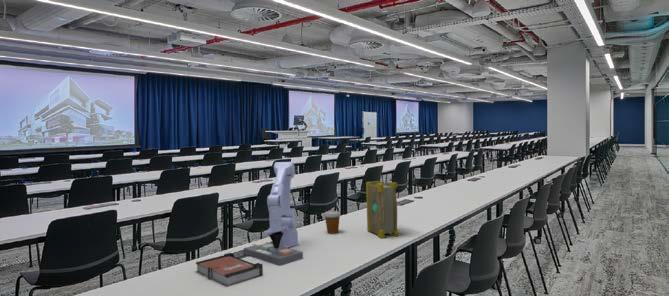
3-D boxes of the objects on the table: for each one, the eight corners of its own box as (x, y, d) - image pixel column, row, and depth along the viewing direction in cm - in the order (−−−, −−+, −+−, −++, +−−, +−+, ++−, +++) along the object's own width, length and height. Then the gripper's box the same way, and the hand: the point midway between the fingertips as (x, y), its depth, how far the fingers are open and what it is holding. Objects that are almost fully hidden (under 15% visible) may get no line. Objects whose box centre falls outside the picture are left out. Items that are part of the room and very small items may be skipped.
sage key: (269, 248, 206) (269, 243, 206) (275, 249, 202) (275, 245, 202) (261, 250, 202) (261, 245, 202) (267, 251, 199) (267, 247, 199)
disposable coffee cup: (327, 235, 237) (326, 214, 237) (323, 231, 246) (322, 211, 246) (342, 233, 240) (342, 213, 239) (338, 230, 249) (337, 210, 249)
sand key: (261, 245, 210) (261, 241, 210) (267, 247, 207) (267, 243, 207) (253, 247, 207) (253, 243, 207) (259, 249, 203) (259, 245, 203)
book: (194, 273, 180) (194, 261, 180) (230, 263, 192) (230, 252, 192) (225, 287, 161) (224, 275, 161) (262, 276, 174) (262, 264, 173)
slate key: (277, 250, 201) (277, 246, 201) (283, 252, 198) (283, 247, 198) (269, 252, 198) (269, 248, 198) (275, 254, 194) (275, 250, 194)
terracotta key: (286, 252, 197) (285, 248, 197) (292, 254, 193) (292, 250, 193) (278, 255, 193) (277, 250, 193) (284, 257, 190) (284, 252, 190)
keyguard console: (266, 247, 215) (266, 241, 215) (302, 258, 196) (302, 251, 195) (243, 254, 205) (243, 247, 205) (279, 265, 185) (279, 258, 185)
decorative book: (366, 231, 244) (364, 180, 243) (382, 229, 248) (381, 179, 247) (382, 239, 225) (380, 184, 224) (399, 236, 229) (398, 182, 228)
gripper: (280, 215, 205) (281, 243, 206) (258, 221, 194) (259, 250, 194) (290, 217, 201) (291, 245, 202) (269, 223, 190) (270, 252, 190)
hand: (276, 247), depth 198 cm, fingers closed
